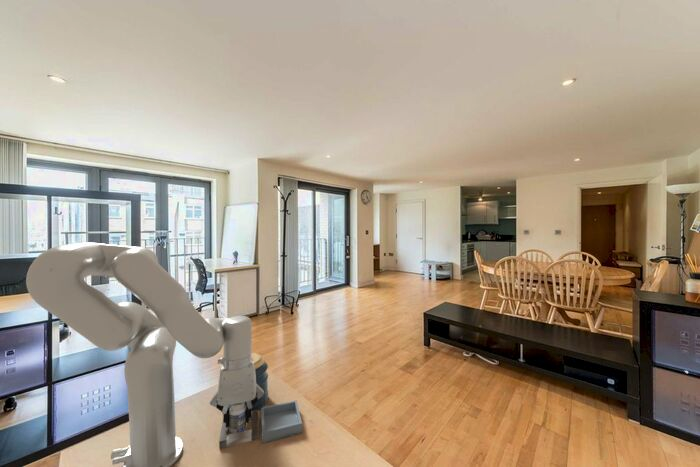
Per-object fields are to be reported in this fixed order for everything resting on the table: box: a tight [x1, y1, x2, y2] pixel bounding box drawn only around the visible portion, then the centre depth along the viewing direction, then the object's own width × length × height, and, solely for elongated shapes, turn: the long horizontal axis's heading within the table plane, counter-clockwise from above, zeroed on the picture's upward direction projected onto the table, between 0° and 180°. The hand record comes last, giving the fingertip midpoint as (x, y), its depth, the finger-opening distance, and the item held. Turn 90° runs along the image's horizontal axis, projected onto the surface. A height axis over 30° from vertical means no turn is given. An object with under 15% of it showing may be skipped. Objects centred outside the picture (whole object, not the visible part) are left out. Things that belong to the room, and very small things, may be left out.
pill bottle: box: [228, 402, 247, 434], centre depth 80 cm, size 5×5×8 cm
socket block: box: [218, 410, 259, 449], centre depth 80 cm, size 10×10×2 cm
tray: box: [260, 399, 303, 444], centre depth 83 cm, size 11×11×3 cm
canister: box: [228, 352, 269, 411], centre depth 92 cm, size 13×13×18 cm
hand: (237, 421), depth 80 cm, fingers closed on pill bottle, 4 cm apart
